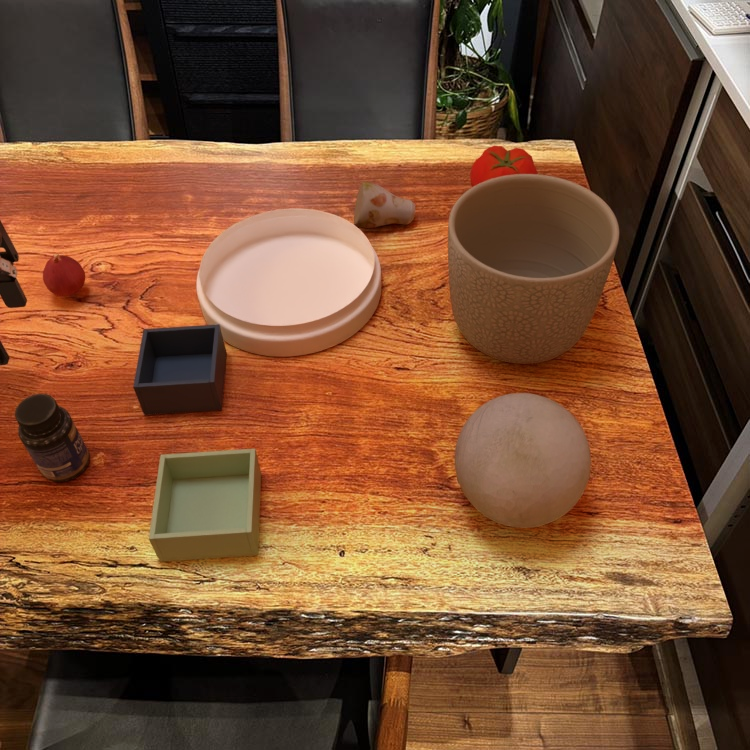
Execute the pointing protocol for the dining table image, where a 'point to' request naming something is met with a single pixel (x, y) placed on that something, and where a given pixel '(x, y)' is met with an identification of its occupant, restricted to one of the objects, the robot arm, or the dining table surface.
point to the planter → (528, 264)
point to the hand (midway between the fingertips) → (9, 333)
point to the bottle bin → (181, 370)
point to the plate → (289, 282)
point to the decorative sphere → (522, 460)
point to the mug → (381, 207)
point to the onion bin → (206, 505)
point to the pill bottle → (51, 438)
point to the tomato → (501, 164)
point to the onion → (63, 276)
